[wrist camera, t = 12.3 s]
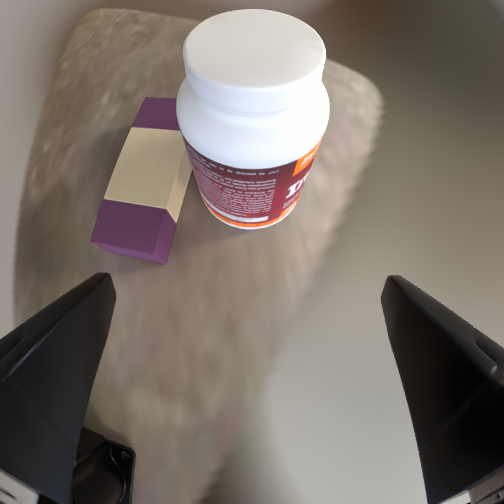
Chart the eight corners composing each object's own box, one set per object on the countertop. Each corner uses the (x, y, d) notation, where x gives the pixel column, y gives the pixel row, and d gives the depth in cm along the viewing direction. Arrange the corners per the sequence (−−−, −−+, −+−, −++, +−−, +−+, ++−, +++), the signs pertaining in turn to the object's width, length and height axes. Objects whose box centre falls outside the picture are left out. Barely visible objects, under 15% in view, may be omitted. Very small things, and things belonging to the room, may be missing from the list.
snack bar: (166, 264, 18) (154, 255, 15) (107, 251, 18) (89, 241, 15) (207, 123, 20) (203, 100, 17) (154, 118, 20) (145, 96, 18)
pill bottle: (298, 237, 18) (359, 125, 7) (193, 227, 18) (133, 110, 7) (301, 147, 20) (339, 10, 9) (208, 139, 20) (183, 0, 9)
